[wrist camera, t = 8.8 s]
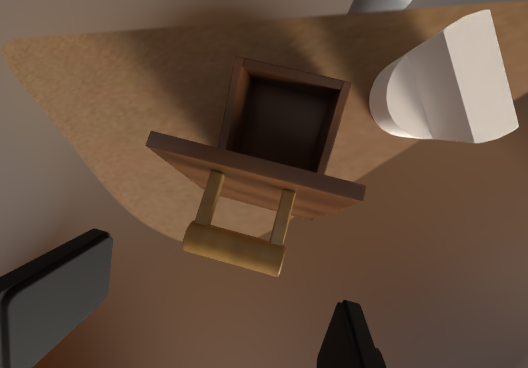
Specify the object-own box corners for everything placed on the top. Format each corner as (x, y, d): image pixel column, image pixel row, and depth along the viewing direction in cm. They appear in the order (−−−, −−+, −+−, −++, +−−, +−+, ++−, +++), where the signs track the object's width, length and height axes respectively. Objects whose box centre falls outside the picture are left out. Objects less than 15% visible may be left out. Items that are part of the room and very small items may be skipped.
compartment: (251, 74, 31) (235, 55, 23) (336, 94, 31) (352, 82, 22) (231, 172, 34) (210, 188, 26) (308, 192, 34) (312, 215, 25)
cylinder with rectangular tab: (460, 118, 30) (566, 113, 18) (382, 148, 31) (434, 161, 20) (438, 41, 28) (538, -18, 17) (358, 77, 30) (398, 46, 18)
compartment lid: (150, 130, 12) (110, 236, 11) (366, 185, 12) (344, 302, 11) (209, 185, 26) (193, 236, 25) (313, 212, 25) (301, 266, 24)
